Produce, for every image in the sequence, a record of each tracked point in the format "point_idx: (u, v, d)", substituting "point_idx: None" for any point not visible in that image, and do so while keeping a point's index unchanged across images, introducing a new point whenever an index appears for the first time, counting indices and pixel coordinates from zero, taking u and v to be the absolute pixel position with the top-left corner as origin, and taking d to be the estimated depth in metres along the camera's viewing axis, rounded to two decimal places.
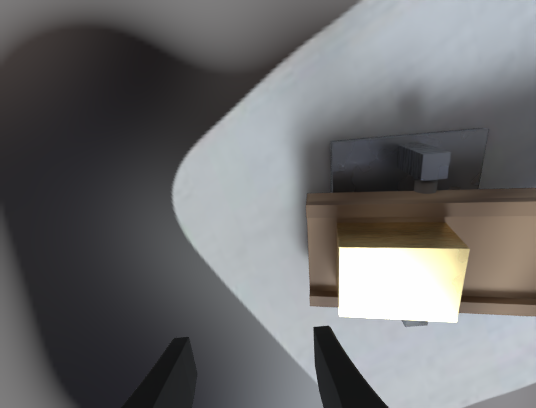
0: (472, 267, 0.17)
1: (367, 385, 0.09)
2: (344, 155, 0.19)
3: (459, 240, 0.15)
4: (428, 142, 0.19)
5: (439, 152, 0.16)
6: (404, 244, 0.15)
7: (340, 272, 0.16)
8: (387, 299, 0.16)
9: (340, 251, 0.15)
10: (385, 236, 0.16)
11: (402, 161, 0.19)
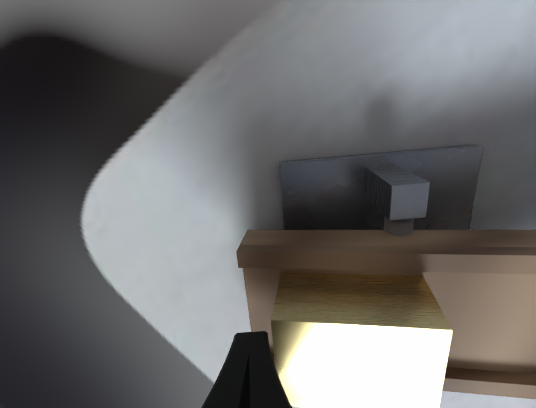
0: (460, 333, 0.13)
1: (281, 392, 0.09)
2: (296, 180, 0.15)
3: (439, 312, 0.10)
4: (405, 164, 0.15)
5: (414, 182, 0.12)
6: (361, 317, 0.10)
7: (275, 351, 0.11)
8: (341, 387, 0.11)
9: (272, 325, 0.11)
10: (337, 300, 0.11)
11: (370, 189, 0.14)
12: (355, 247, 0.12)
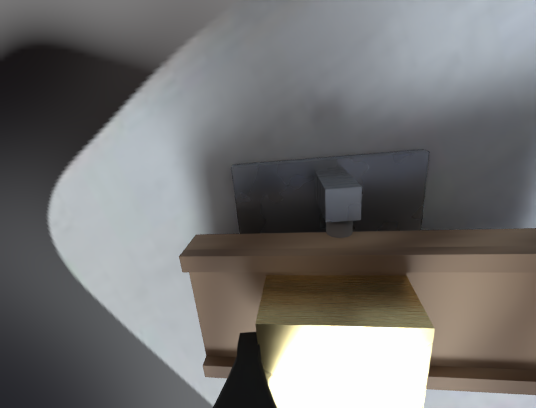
0: None
1: (267, 393, 0.09)
2: (248, 182, 0.15)
3: (421, 311, 0.11)
4: (353, 168, 0.15)
5: (348, 186, 0.12)
6: (345, 318, 0.10)
7: None
8: (327, 389, 0.11)
9: (257, 329, 0.11)
10: (322, 302, 0.11)
11: (317, 192, 0.15)
12: (294, 250, 0.13)
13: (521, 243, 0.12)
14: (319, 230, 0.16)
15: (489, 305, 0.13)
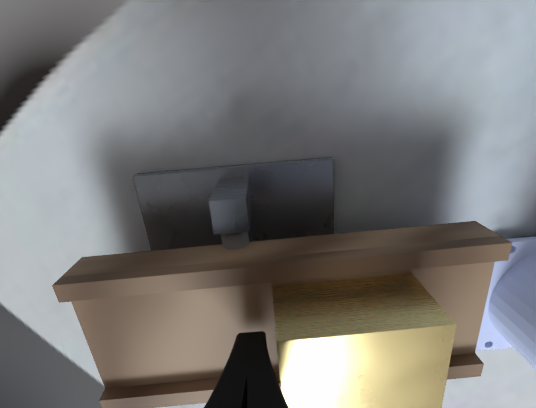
0: None
1: (278, 392, 0.09)
2: (152, 192, 0.15)
3: (438, 307, 0.11)
4: (258, 176, 0.15)
5: (233, 197, 0.12)
6: (368, 324, 0.10)
7: (281, 374, 0.10)
8: (350, 400, 0.11)
9: (278, 347, 0.10)
10: (339, 309, 0.11)
11: None
12: (183, 266, 0.12)
13: (398, 242, 0.12)
14: None
15: None
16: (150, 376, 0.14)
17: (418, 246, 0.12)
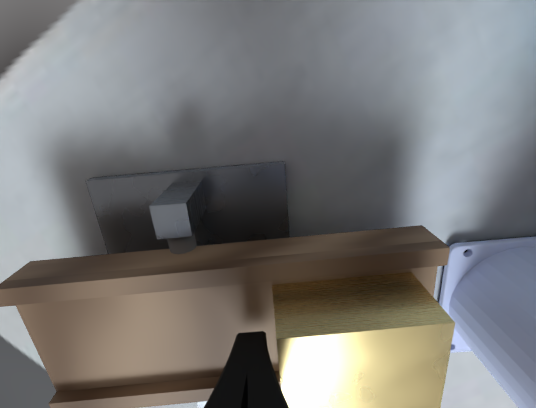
0: None
1: (279, 392, 0.09)
2: (105, 196, 0.15)
3: (437, 306, 0.11)
4: (210, 180, 0.15)
5: (174, 202, 0.12)
6: (368, 322, 0.10)
7: (281, 372, 0.10)
8: (349, 397, 0.11)
9: (278, 344, 0.10)
10: (339, 308, 0.11)
11: None
12: (125, 271, 0.12)
13: (339, 247, 0.12)
14: None
15: None
16: (100, 379, 0.14)
17: (357, 251, 0.12)
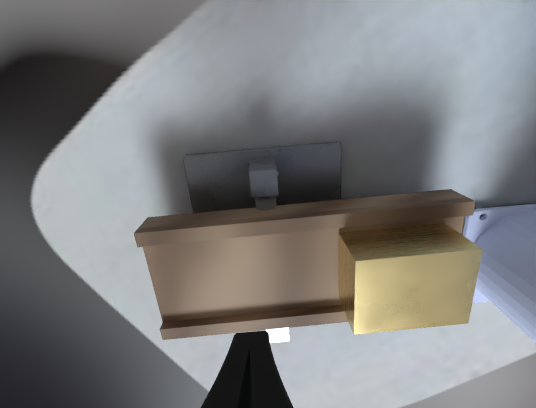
0: (316, 279, 0.18)
1: (282, 391, 0.09)
2: (197, 169, 0.19)
3: (468, 241, 0.15)
4: (281, 156, 0.19)
5: (266, 169, 0.16)
6: (419, 250, 0.14)
7: (356, 287, 0.14)
8: (403, 309, 0.15)
9: (356, 265, 0.14)
10: (395, 243, 0.15)
11: None
12: (230, 220, 0.16)
13: (390, 203, 0.16)
14: None
15: None
16: (198, 312, 0.18)
17: (405, 205, 0.16)
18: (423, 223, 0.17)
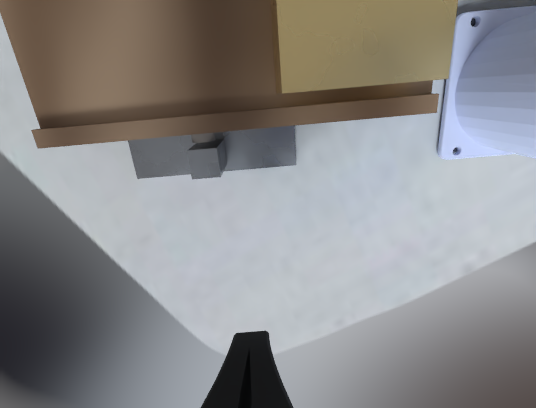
0: (244, 60, 0.13)
1: (282, 391, 0.09)
2: None
3: None
4: None
5: None
6: None
7: None
8: (352, 46, 0.10)
9: None
10: None
11: None
12: None
13: None
14: None
15: None
16: (87, 112, 0.13)
17: None
18: None
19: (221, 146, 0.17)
